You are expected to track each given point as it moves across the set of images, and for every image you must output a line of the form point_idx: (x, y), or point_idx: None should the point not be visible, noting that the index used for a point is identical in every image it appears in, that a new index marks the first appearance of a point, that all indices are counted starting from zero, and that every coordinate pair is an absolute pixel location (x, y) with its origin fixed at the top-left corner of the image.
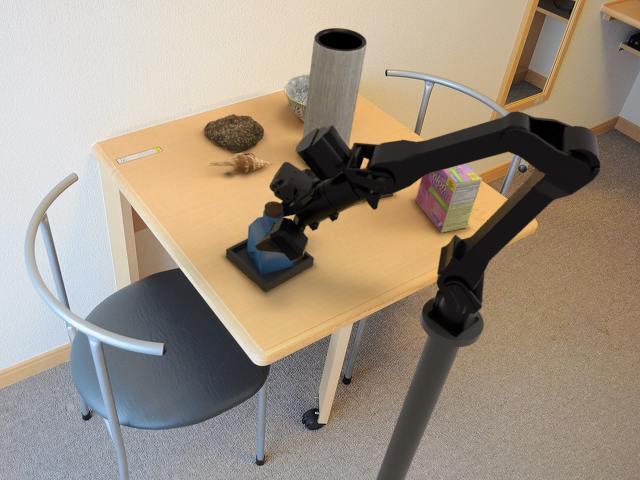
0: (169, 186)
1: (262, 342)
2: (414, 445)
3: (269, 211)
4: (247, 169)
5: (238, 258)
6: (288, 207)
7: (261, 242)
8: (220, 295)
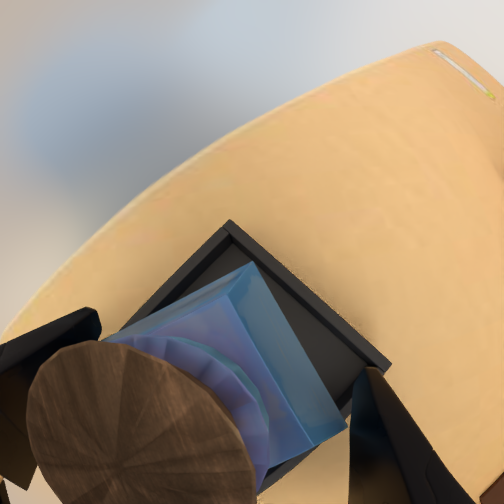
0: (434, 98)
1: None
2: None
3: (35, 399)
4: None
5: (187, 265)
6: (375, 493)
7: (31, 331)
8: (94, 244)
